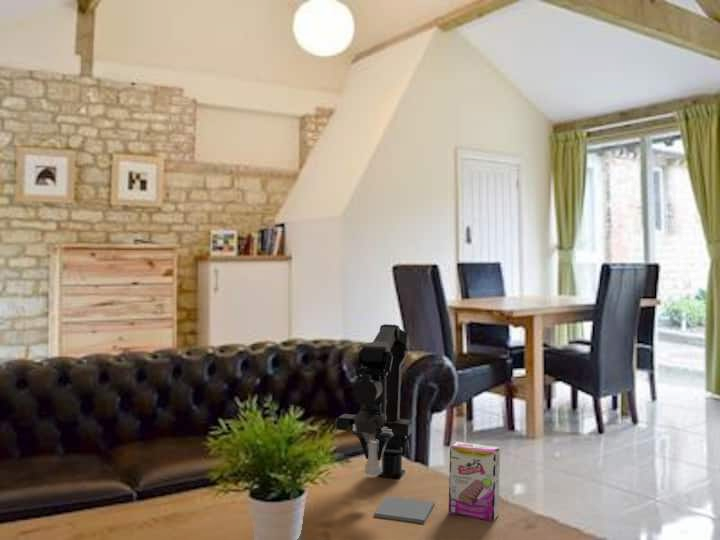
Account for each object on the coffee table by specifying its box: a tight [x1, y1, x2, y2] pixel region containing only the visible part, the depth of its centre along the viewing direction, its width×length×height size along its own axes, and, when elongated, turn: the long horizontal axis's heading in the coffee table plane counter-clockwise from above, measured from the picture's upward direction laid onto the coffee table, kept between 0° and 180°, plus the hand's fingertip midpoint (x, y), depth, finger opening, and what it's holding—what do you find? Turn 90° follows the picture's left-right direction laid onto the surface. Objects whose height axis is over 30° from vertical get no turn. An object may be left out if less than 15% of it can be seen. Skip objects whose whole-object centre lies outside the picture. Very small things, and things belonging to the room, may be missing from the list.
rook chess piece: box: [363, 438, 382, 476], centre depth 155 cm, size 4×4×8 cm
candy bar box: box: [448, 440, 501, 522], centre depth 149 cm, size 11×5×16 cm, turn 65°
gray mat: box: [373, 495, 435, 524], centre depth 151 cm, size 12×12×1 cm
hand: (373, 459), depth 155 cm, fingers closed on rook chess piece, 3 cm apart
